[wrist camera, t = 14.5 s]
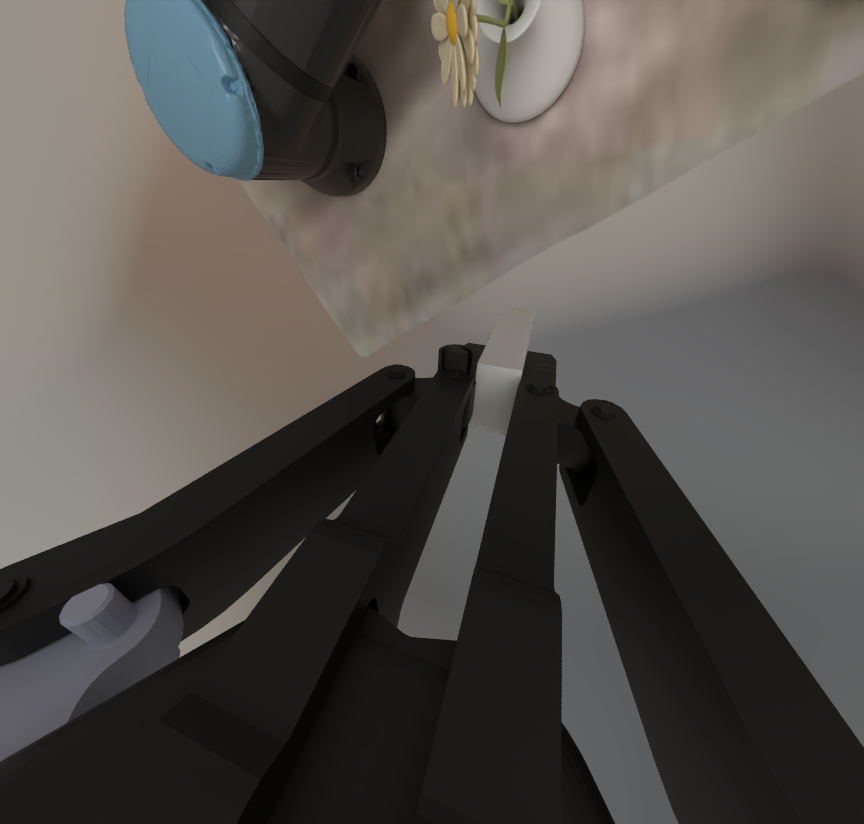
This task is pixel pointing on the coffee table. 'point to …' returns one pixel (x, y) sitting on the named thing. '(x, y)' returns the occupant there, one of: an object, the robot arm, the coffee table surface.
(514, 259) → the coffee table surface
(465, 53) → the flower in vase
